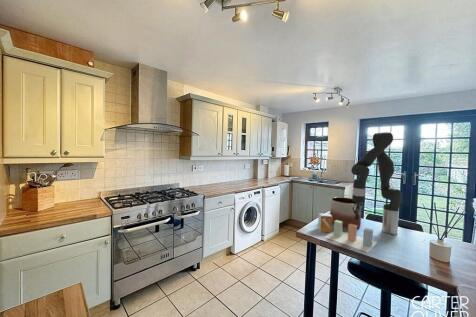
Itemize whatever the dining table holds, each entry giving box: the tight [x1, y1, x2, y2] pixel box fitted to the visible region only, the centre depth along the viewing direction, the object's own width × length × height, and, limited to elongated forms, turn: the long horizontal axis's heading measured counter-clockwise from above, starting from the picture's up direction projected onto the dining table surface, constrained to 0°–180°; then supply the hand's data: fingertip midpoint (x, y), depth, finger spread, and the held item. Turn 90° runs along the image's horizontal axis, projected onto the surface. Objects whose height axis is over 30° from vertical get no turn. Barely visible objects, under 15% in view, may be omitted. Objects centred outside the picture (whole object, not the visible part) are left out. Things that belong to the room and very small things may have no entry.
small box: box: [317, 212, 333, 233], centre depth 148 cm, size 8×6×13 cm
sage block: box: [333, 220, 343, 237], centre depth 140 cm, size 4×4×10 cm
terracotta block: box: [347, 224, 358, 242], centre depth 133 cm, size 4×4×10 cm
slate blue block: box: [362, 227, 374, 247], centre depth 127 cm, size 4×4×10 cm
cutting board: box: [324, 230, 378, 253], centre depth 134 cm, size 20×26×1 cm
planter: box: [329, 196, 362, 229], centre depth 164 cm, size 22×22×20 cm
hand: (357, 219), depth 139 cm, fingers closed
